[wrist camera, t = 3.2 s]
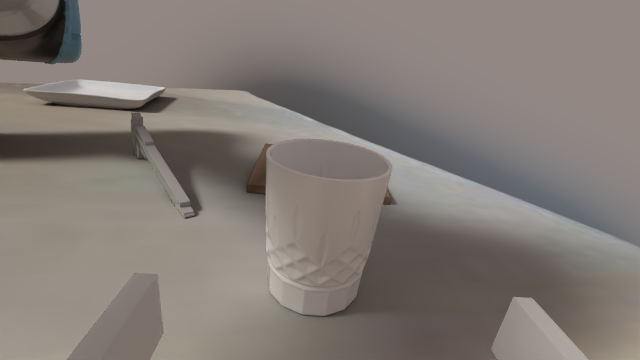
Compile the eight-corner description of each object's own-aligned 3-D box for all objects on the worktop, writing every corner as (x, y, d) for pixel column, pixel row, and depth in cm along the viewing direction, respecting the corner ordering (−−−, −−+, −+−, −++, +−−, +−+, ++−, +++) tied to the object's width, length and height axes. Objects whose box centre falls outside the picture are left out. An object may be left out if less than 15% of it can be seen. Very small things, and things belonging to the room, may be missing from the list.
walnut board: (246, 192, 36) (246, 184, 36) (265, 149, 52) (265, 143, 52) (389, 204, 37) (391, 197, 37) (365, 159, 53) (366, 153, 53)
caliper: (133, 155, 43) (128, 110, 41) (142, 154, 44) (137, 110, 42) (184, 221, 30) (180, 159, 27) (196, 218, 30) (193, 157, 28)
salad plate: (167, 98, 85) (167, 85, 83) (144, 115, 66) (143, 98, 64) (77, 91, 80) (75, 77, 78) (24, 107, 61) (19, 88, 59)
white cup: (386, 293, 23) (418, 167, 19) (302, 346, 18) (323, 191, 14) (319, 241, 29) (333, 135, 25) (239, 271, 24) (242, 144, 20)
